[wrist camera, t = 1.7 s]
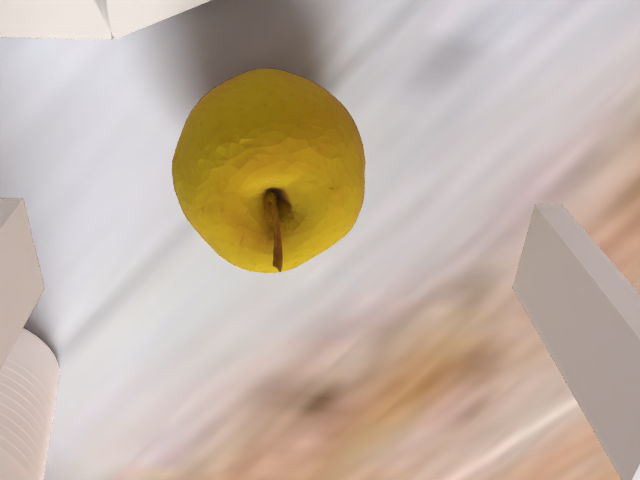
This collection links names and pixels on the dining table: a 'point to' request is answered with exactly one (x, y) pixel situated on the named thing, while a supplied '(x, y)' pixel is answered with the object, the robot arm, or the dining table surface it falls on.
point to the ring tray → (85, 17)
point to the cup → (27, 408)
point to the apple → (269, 170)
